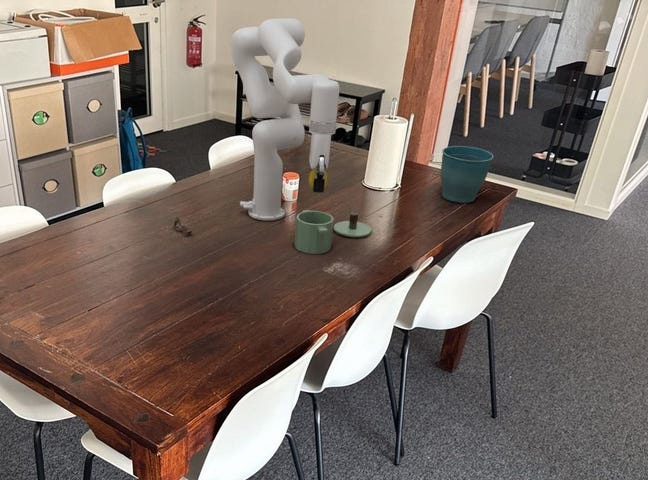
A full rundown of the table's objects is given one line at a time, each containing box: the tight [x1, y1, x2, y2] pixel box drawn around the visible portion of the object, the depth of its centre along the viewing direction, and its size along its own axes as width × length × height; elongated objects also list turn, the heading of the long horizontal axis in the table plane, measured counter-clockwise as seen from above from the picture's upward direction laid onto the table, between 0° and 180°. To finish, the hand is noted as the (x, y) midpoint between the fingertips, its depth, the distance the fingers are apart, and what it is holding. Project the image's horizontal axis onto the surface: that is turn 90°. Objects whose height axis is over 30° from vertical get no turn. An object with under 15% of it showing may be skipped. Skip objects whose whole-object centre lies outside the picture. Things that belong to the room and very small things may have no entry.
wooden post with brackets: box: [172, 215, 192, 237], centre depth 220 cm, size 2×8×4 cm, turn 44°
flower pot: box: [440, 145, 495, 204], centre depth 252 cm, size 18×18×17 cm
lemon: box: [308, 166, 328, 194], centre depth 203 cm, size 6×6×8 cm
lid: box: [333, 211, 372, 238], centre depth 224 cm, size 12×12×6 cm
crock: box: [294, 209, 335, 255], centre depth 212 cm, size 11×17×10 cm
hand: (317, 187), depth 204 cm, fingers closed on lemon, 5 cm apart
